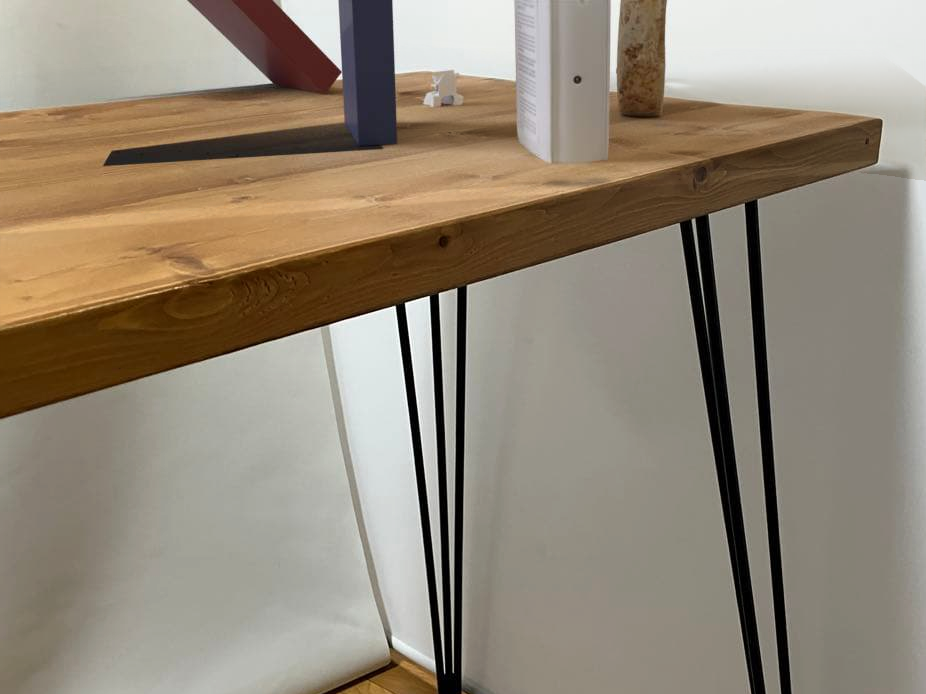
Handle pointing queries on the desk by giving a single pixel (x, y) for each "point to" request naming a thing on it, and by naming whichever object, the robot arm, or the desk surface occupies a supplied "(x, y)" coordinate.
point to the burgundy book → (271, 42)
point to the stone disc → (641, 57)
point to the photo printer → (563, 78)
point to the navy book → (368, 70)
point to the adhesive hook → (444, 90)
